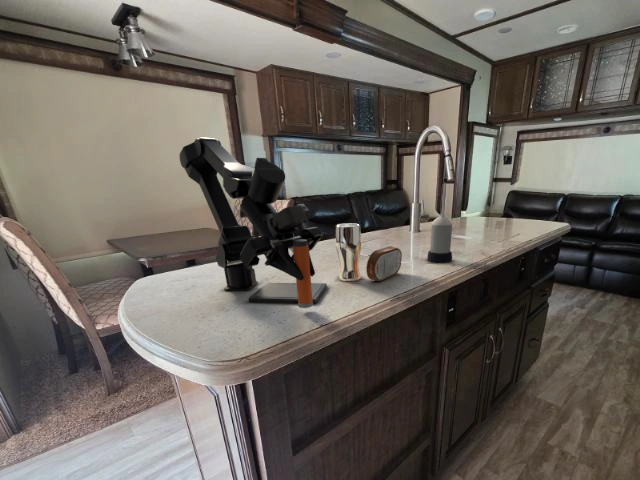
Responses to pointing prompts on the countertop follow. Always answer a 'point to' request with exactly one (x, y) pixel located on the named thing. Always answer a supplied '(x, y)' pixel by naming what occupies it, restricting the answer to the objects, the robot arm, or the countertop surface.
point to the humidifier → (441, 237)
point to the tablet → (285, 293)
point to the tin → (384, 263)
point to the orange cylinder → (304, 265)
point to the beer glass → (348, 250)
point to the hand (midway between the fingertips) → (308, 277)
